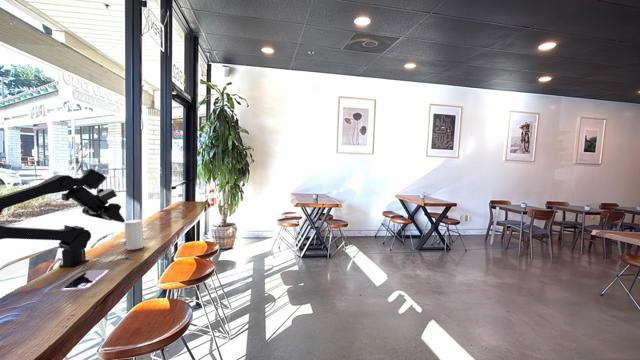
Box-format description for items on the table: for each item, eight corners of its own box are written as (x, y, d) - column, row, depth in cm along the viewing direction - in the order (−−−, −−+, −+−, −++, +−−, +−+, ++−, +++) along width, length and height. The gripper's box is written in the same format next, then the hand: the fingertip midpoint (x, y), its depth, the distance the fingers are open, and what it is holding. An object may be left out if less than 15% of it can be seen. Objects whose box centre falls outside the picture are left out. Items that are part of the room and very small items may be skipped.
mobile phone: (110, 268, 105) (87, 286, 91) (110, 271, 105) (87, 289, 91) (86, 270, 103) (58, 289, 89) (86, 273, 103) (58, 292, 89)
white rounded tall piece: (132, 250, 127) (130, 223, 126) (123, 248, 130) (121, 222, 129) (146, 246, 133) (145, 220, 132) (137, 244, 136) (136, 219, 135)
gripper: (114, 183, 114) (143, 207, 125) (88, 182, 122) (118, 204, 133) (93, 206, 108) (125, 229, 119) (67, 203, 116) (100, 224, 127)
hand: (117, 220), depth 124 cm, fingers open, 9 cm apart
